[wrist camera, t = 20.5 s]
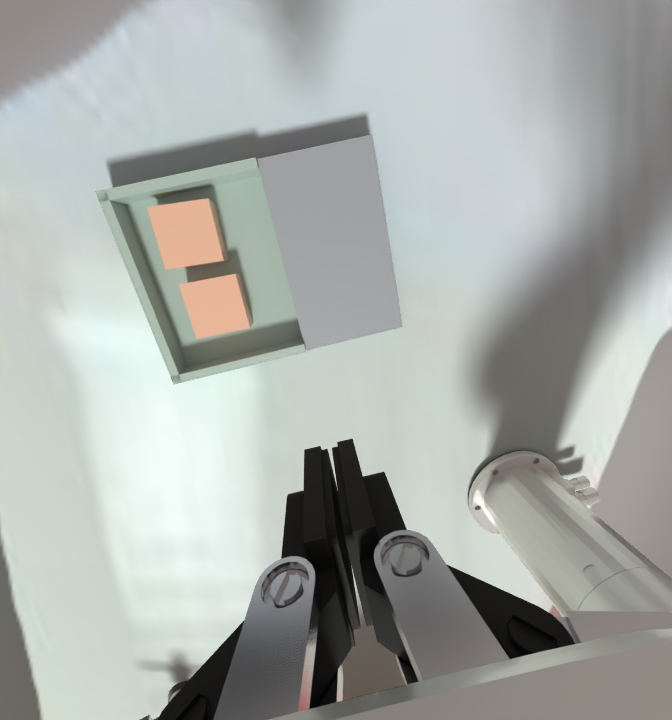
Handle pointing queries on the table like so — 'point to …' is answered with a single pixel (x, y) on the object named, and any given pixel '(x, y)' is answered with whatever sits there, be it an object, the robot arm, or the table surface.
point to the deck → (333, 239)
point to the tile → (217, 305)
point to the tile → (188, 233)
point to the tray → (208, 269)
